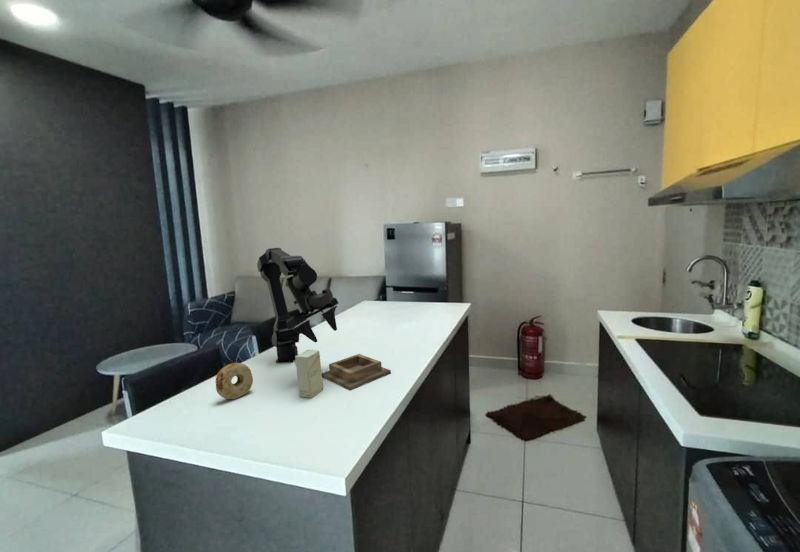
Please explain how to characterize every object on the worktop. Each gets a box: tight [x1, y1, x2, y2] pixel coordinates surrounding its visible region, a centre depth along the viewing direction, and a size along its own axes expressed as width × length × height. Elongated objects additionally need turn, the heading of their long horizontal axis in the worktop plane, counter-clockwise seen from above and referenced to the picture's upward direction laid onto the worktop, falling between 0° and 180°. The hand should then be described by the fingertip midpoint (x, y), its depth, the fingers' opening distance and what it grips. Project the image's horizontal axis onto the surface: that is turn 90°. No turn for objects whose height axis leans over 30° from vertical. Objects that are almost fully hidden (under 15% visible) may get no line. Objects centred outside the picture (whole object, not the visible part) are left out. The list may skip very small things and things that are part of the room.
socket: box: [322, 353, 392, 391], centre depth 123 cm, size 16×16×4 cm
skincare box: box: [295, 349, 324, 399], centre depth 111 cm, size 6×4×12 cm
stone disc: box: [215, 362, 254, 400], centre depth 112 cm, size 10×4×10 cm, turn 139°
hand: (326, 336), depth 121 cm, fingers open, 9 cm apart
